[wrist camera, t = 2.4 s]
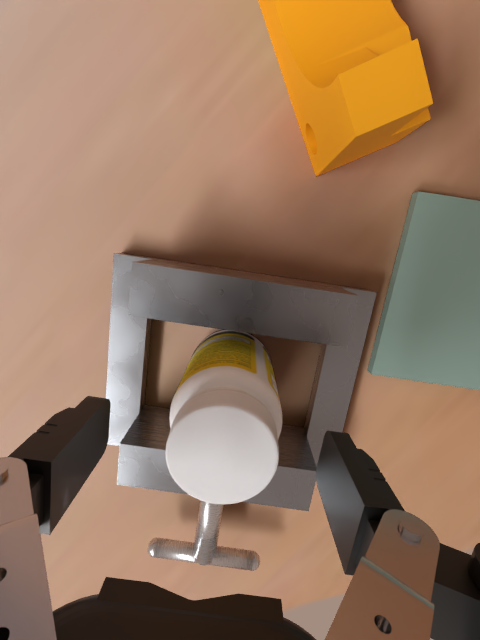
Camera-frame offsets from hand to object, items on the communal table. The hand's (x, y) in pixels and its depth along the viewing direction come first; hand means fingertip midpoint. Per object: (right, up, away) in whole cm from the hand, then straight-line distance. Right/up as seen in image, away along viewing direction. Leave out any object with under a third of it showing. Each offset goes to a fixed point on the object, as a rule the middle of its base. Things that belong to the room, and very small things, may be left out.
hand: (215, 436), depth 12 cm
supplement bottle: (0, +2, +8) cm, 8 cm away
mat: (+14, +5, +6) cm, 16 cm away
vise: (0, -2, +8) cm, 8 cm away
